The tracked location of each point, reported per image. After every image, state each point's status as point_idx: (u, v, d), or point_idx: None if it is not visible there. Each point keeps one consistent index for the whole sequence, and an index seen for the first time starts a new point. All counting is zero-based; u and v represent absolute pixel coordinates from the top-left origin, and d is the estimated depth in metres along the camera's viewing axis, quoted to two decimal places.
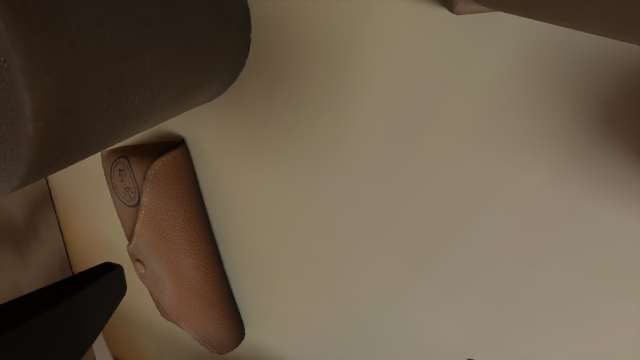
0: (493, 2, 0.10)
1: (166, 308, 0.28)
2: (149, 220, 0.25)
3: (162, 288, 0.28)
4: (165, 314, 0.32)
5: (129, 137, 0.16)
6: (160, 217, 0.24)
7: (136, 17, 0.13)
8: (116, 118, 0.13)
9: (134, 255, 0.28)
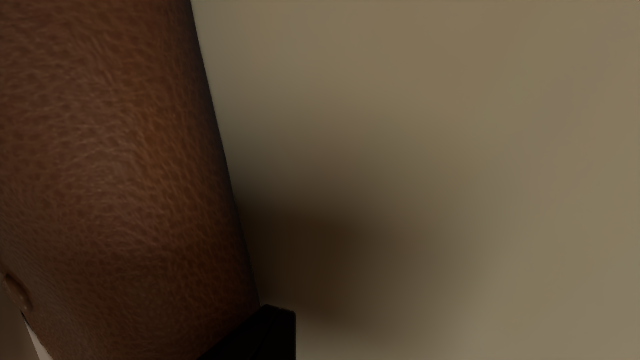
0: None
1: None
2: None
3: None
4: None
5: None
6: (33, 114, 0.06)
7: None
8: None
9: None
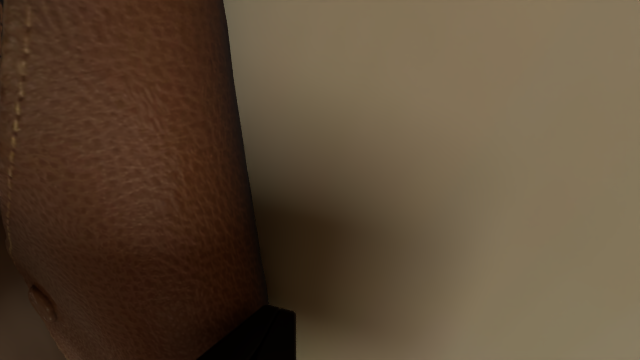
0: None
1: None
2: (45, 164, 0.06)
3: None
4: None
5: None
6: (86, 156, 0.06)
7: None
8: None
9: (26, 272, 0.10)
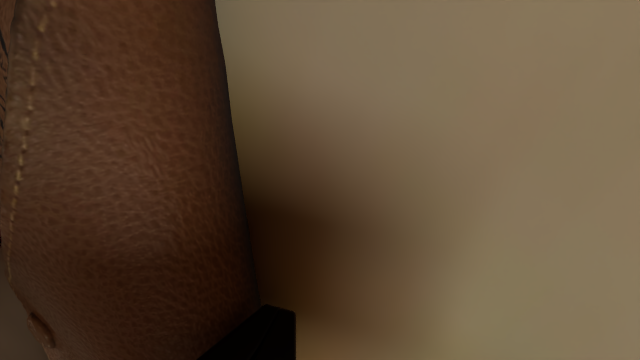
0: None
1: None
2: (47, 209, 0.07)
3: None
4: None
5: None
6: (87, 203, 0.07)
7: None
8: None
9: (25, 300, 0.10)
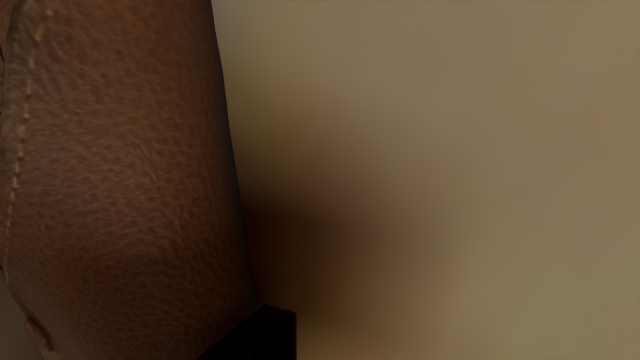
0: None
1: None
2: (43, 216, 0.07)
3: None
4: None
5: None
6: (84, 209, 0.07)
7: None
8: None
9: (22, 303, 0.10)
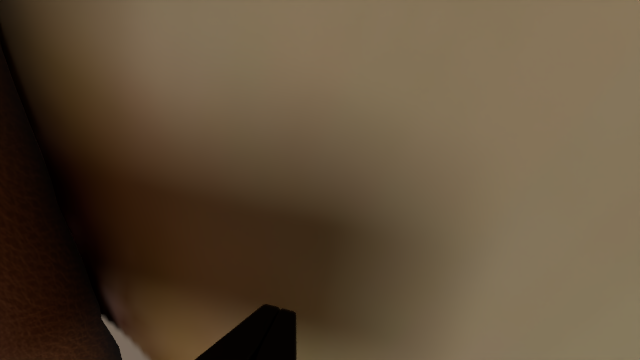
0: None
1: None
2: None
3: None
4: None
5: None
6: None
7: None
8: None
9: None
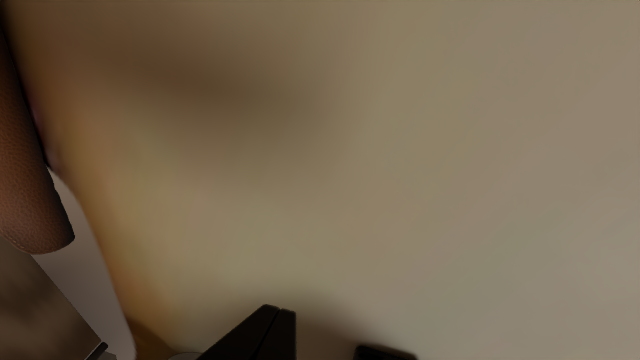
0: None
1: None
2: None
3: None
4: None
5: None
6: None
7: None
8: None
9: None
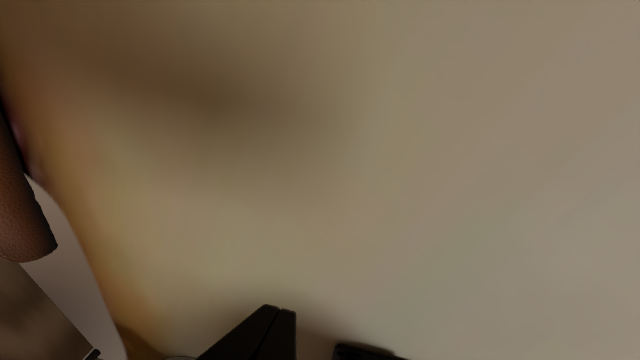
0: None
1: None
2: None
3: None
4: None
5: None
6: None
7: None
8: None
9: None
